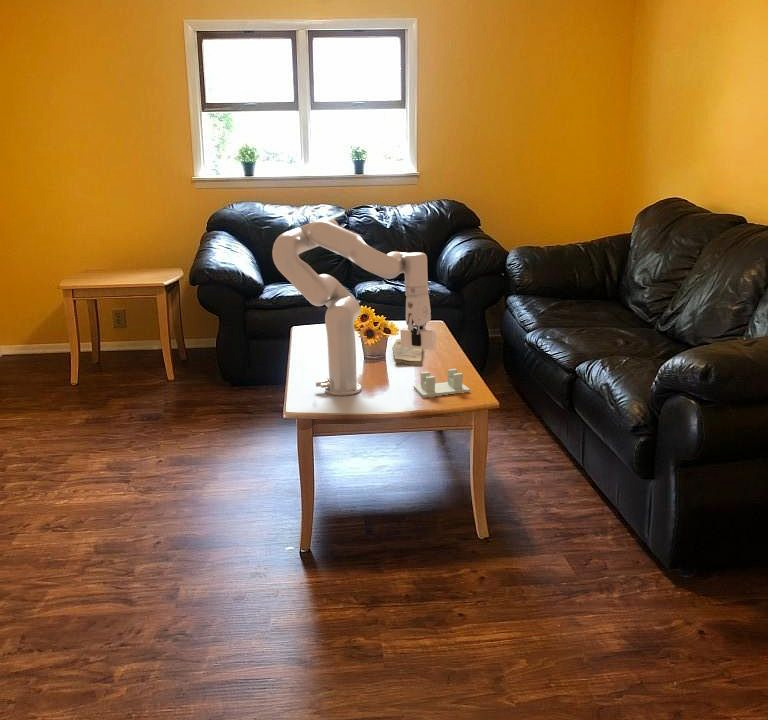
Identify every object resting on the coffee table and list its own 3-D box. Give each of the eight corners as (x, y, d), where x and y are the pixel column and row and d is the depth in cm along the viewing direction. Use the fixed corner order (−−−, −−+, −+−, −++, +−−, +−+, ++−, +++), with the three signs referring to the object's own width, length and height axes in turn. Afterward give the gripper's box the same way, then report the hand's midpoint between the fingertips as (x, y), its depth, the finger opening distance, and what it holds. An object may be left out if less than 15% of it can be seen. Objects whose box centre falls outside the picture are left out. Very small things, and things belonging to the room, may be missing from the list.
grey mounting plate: (422, 398, 255) (422, 380, 254) (413, 389, 265) (413, 371, 263) (469, 392, 260) (470, 374, 258) (458, 383, 269) (459, 366, 267)
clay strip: (436, 348, 253) (435, 330, 251) (433, 350, 251) (432, 332, 249) (404, 345, 259) (403, 328, 257) (401, 347, 257) (400, 329, 255)
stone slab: (422, 338, 319) (423, 356, 290) (422, 347, 320) (423, 366, 291) (392, 338, 319) (391, 355, 290) (392, 347, 320) (391, 366, 291)
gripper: (415, 296, 241) (417, 351, 246) (437, 286, 254) (439, 339, 260) (395, 294, 245) (397, 349, 250) (417, 285, 258) (419, 337, 263)
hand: (418, 343), depth 255 cm, fingers closed on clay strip, 2 cm apart
